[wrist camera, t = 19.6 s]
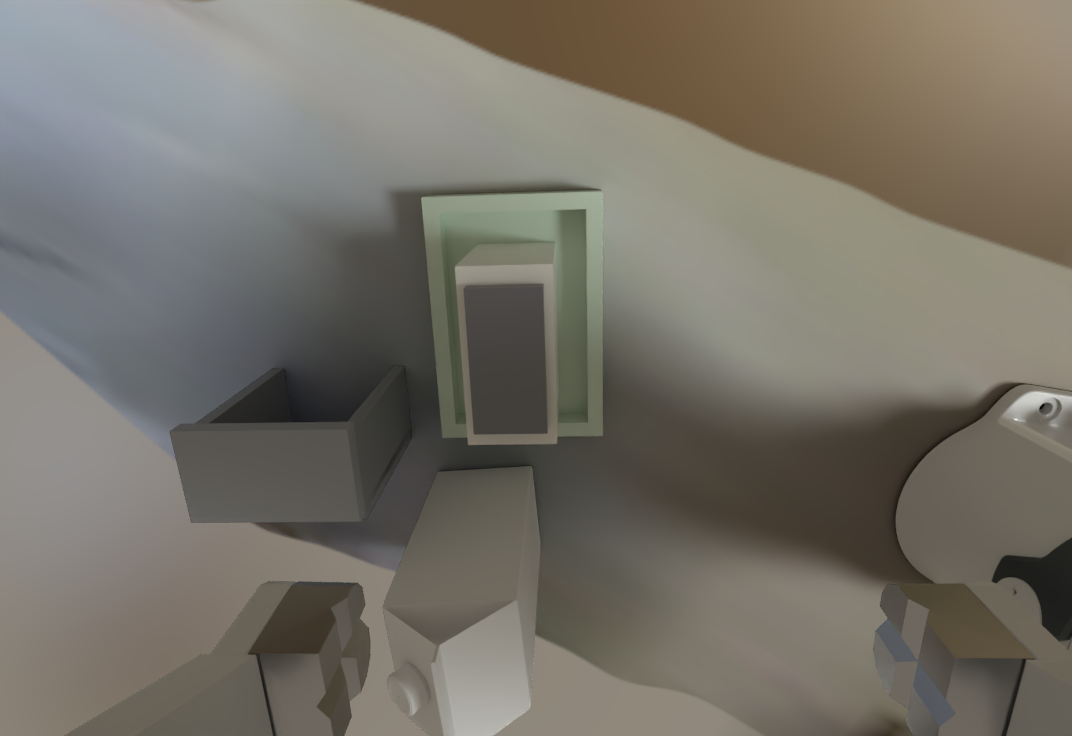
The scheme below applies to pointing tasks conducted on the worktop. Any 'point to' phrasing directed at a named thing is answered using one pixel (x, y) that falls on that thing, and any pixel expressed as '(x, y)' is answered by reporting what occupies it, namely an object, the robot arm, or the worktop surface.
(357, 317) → the worktop surface
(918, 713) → the robot arm
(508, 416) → the cream box grey panel
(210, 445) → the open-top grey box
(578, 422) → the tray
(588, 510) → the worktop surface
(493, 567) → the milk carton
